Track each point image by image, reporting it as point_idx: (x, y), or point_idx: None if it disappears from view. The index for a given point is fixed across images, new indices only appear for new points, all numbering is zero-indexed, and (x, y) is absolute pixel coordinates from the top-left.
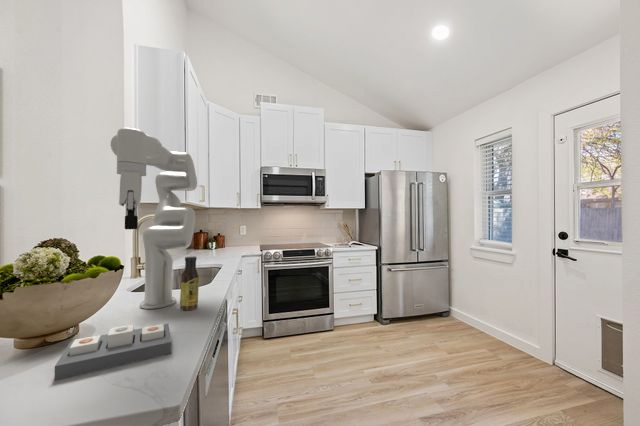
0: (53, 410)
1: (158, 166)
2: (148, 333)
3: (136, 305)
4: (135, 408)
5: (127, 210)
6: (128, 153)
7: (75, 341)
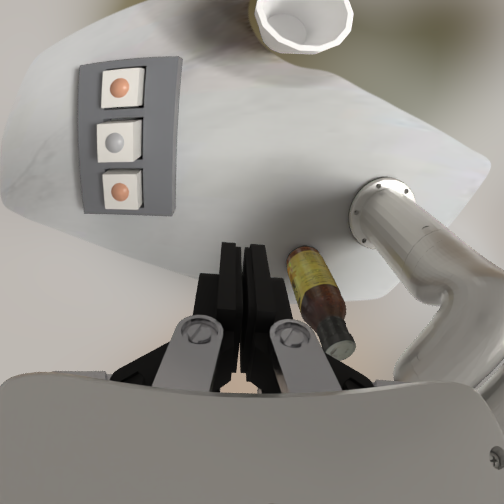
0: (27, 94)
1: None
2: (103, 184)
3: (405, 173)
4: (3, 171)
5: (117, 371)
6: None
7: (128, 71)
